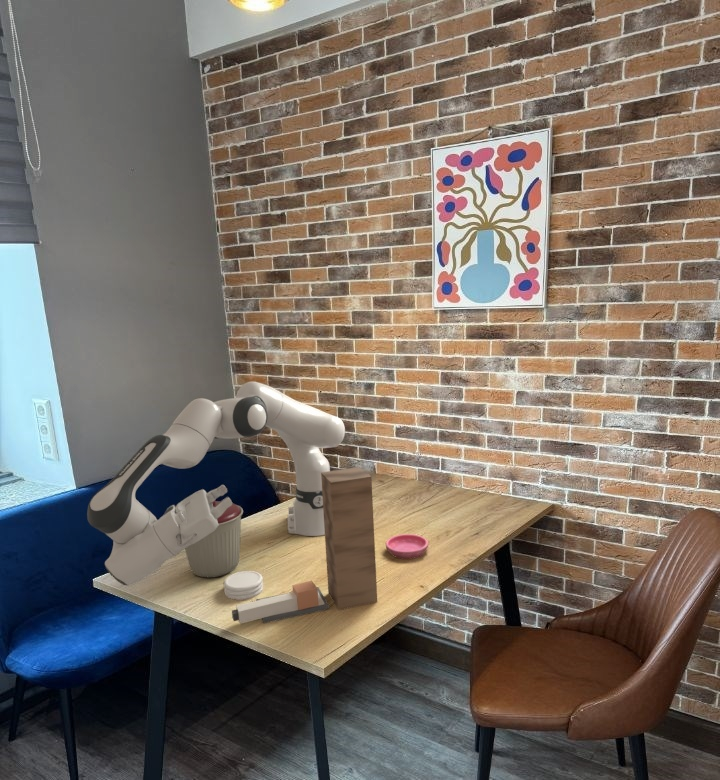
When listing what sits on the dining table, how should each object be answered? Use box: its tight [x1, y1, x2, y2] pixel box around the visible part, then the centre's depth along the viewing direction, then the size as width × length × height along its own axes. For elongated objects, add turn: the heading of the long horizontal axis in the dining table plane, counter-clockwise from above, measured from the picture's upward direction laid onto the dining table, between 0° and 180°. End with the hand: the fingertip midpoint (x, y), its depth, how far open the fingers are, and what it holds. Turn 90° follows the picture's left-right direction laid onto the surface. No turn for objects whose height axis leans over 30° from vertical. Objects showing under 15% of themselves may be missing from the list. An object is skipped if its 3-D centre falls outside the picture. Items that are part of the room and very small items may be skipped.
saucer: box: [385, 533, 429, 560], centre depth 173 cm, size 12×12×3 cm
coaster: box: [223, 570, 264, 601], centre depth 155 cm, size 10×10×4 cm
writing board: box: [255, 586, 330, 624], centre depth 146 cm, size 10×16×1 cm, turn 109°
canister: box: [184, 500, 244, 578], centre depth 167 cm, size 18×18×21 cm
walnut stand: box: [321, 466, 378, 611], centre depth 146 cm, size 9×10×32 cm
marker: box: [231, 580, 319, 624], centre depth 141 cm, size 4×20×4 cm, turn 113°
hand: (228, 493), depth 136 cm, fingers open, 8 cm apart
